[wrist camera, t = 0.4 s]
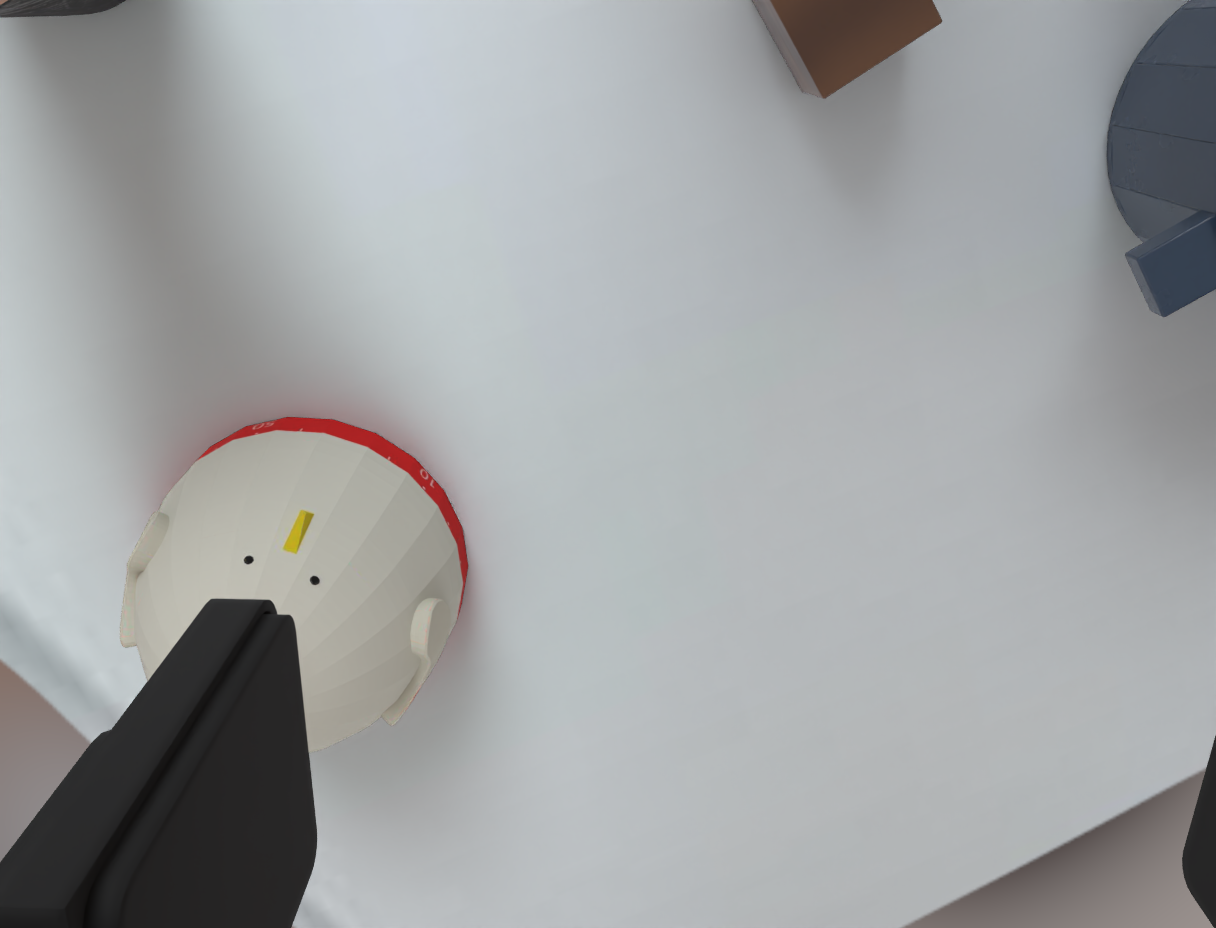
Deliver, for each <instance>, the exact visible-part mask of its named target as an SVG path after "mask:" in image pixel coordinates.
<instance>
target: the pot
mask: <svg viewBox="0 0 1216 928" xmlns="http://www.w3.org/2000/svg"><path fill="white" fill-rule="evenodd" d="M1107 162H1108V174H1109V179H1110V184H1111V188H1112V192H1113V195H1114V198H1115V200H1116V203H1117V206H1118V208H1119V210H1120V212H1121V214H1122V216H1123V217H1124V219H1125V221H1126V223H1127V224H1128V225H1129V227H1130V228H1131V229H1132V231H1133V232H1134V233H1135V234H1136V236H1137V237H1138V238H1139V239H1140V240H1141V241H1142V242H1144V243H1142V244H1141V245H1139V246H1137V247H1135V248H1134V249H1132V250H1130V251H1128V252H1127V253H1125V256H1126V259H1127V261H1128V263H1129V265H1130V267H1131V269H1132V272H1133V274H1134V276H1135V278H1136V280H1137V282H1138V285H1139V287H1140V289H1141V291H1142V293H1143V295H1144V298H1145V300H1146V302H1147V304H1148V306H1149V308H1150V310H1151V311H1152V312H1154V313H1156V314H1158V315H1160V316H1162V317H1166V316H1168V315H1170V314H1171V313H1173V312H1175V311H1177V310H1179V309H1180V308H1182V307H1184V306H1186V305H1188V304H1189V303H1191V302H1193V301H1195V300H1197V299H1198V298H1200V297H1202V296H1204V295H1206V294H1207V293H1209V292H1211V291H1213V290H1215V289H1216V0H1190V1H1189V2H1187V3H1186V4H1185V5H1183V6H1182V7H1181V8H1180V9H1179V10H1178V11H1177V12H1175V13H1174V14H1173V15H1172V16H1171V17H1170V18H1169V19H1167V20H1166V22H1165V23H1164V24H1163V25H1162V26H1161V27H1160V28H1159V29H1158V30H1157V31H1156V32H1155V34H1154V35H1153V36H1152V37H1151V38H1150V40H1149V41H1148V42H1147V44H1146V45H1145V46H1144V48H1143V49H1142V50H1141V52H1140V53H1139V55H1138V56H1137V58H1136V60H1135V61H1134V63H1133V65H1132V66H1131V68H1130V70H1129V72H1128V73H1127V75H1126V78H1125V80H1124V82H1123V84H1122V87H1121V89H1120V91H1119V93H1118V96H1117V99H1116V103H1115V106H1114V109H1113V112H1112V116H1111V122H1110V127H1109V132H1108V145H1107Z"/></svg>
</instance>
